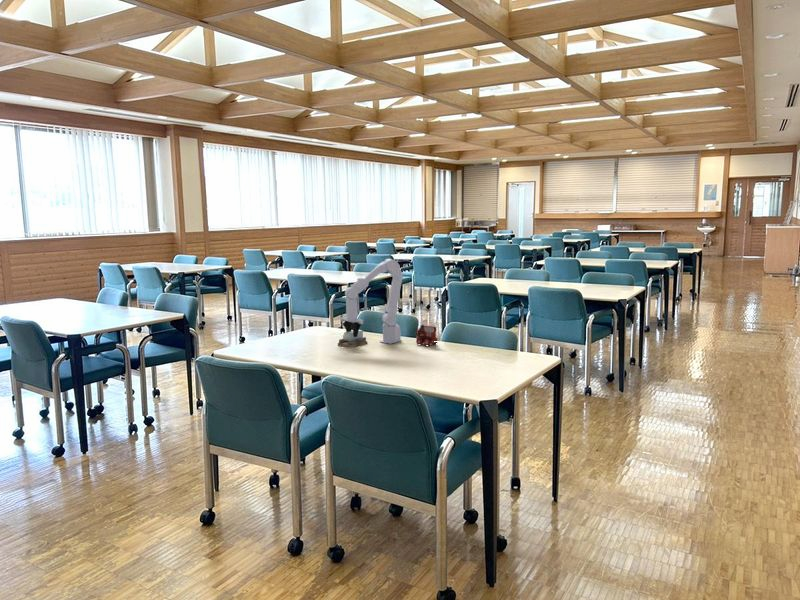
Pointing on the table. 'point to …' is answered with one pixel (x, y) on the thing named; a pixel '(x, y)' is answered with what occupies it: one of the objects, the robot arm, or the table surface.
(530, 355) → the table surface
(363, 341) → the cradle
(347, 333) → the dome-topped blue pillar
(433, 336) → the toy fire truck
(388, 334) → the robot arm
